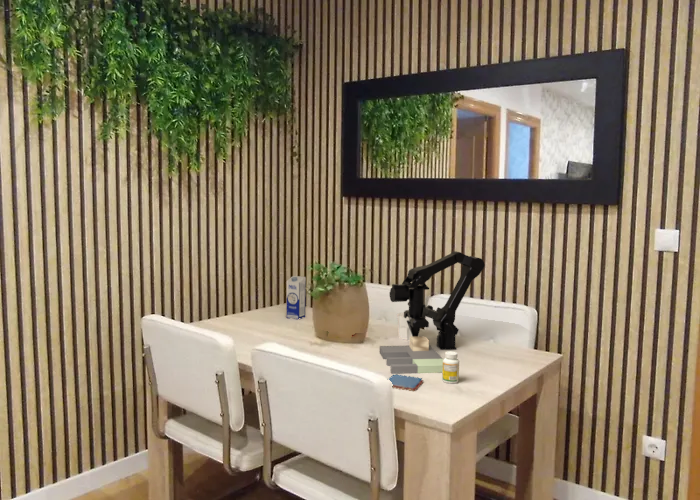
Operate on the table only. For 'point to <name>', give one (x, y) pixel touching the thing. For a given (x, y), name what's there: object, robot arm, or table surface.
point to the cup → (403, 327)
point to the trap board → (411, 360)
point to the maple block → (419, 343)
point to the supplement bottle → (450, 368)
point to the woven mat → (405, 382)
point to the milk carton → (296, 297)
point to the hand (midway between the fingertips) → (415, 340)
